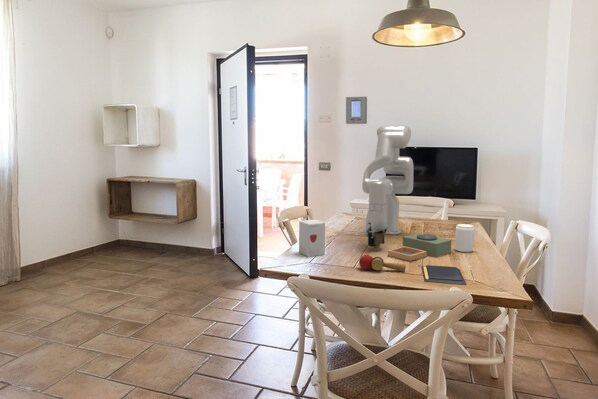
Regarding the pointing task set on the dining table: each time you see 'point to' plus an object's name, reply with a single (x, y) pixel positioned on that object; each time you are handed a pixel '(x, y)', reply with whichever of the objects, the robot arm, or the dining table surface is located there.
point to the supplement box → (312, 238)
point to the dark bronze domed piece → (378, 238)
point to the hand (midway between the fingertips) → (376, 244)
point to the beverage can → (464, 238)
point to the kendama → (378, 263)
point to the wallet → (443, 275)
